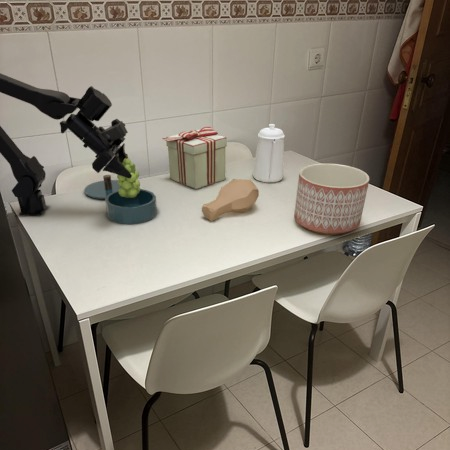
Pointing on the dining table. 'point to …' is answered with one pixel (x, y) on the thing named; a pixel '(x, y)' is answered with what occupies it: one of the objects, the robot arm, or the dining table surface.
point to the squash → (232, 199)
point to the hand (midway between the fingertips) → (132, 173)
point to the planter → (330, 198)
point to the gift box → (197, 157)
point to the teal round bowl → (131, 207)
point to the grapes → (129, 180)
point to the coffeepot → (269, 155)
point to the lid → (102, 188)
